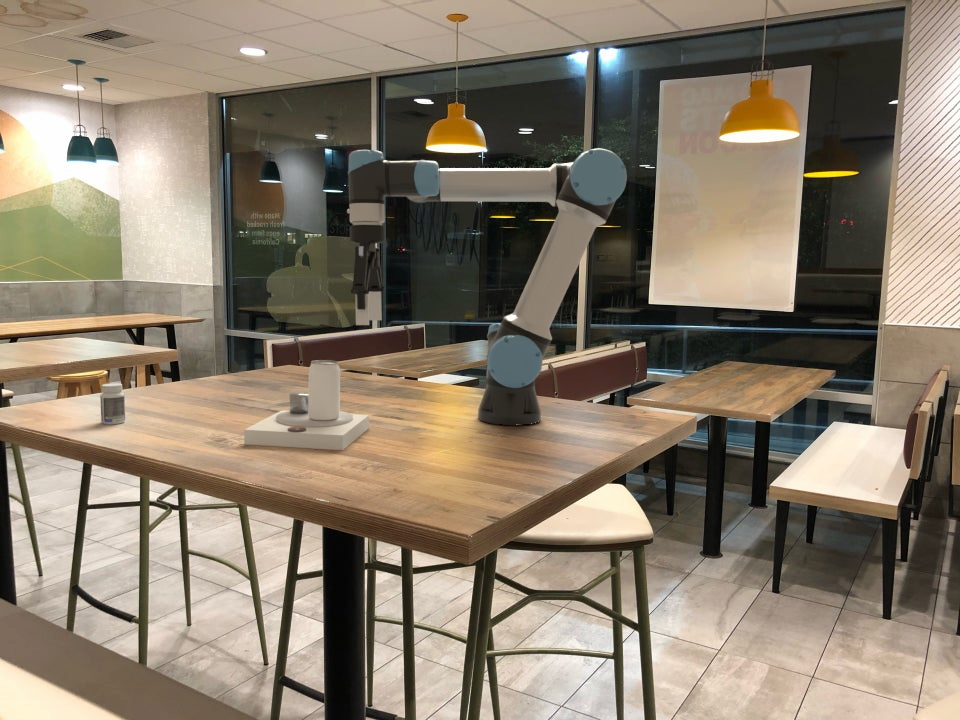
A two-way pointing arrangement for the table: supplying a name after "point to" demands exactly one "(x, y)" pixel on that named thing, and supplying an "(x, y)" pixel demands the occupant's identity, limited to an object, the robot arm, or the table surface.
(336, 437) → the scale
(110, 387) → the pill bottle
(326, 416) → the can
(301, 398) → the cylinder
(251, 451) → the table surface
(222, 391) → the table surface
